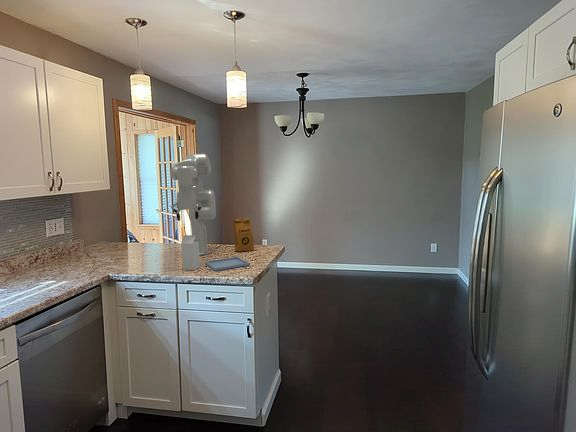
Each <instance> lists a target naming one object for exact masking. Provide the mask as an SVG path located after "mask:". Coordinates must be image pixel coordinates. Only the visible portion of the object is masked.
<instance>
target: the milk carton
mask: <svg viewBox="0 0 576 432" xmlns="http://www.w3.org/2000/svg"><path fill="white" fill-rule="evenodd" d="M180 248H181V249H180V250H181V261H182V270H184V271H197V269H199V268H200V267H201V258H200V255H199V243H198V240H197V239H196V237H195V235H192V234H191V235H189V234H186V235H183V237H182V240H181V243H180Z"/></svg>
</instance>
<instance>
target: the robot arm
mask: <svg viewBox="0 0 576 432" xmlns="http://www.w3.org/2000/svg"><path fill="white" fill-rule="evenodd" d="M211 173H212V165H211V162H210V158H209V156H208V155H207V154H206V153H192V154H191V153H190V154H188V155H186V157H185V158H184V160H181V161H179V162H176V163H174V164H173V165H172V166H171V170H170V176H171V178H172V179H173V180H174V181H177V186H178V191H177V192H176V202H175V203H172V205H170V208H171V210H172V211H173V212H174V213H175V214H176V220H177V222H181V214H180V212H181V211H185V210H188V217H189V222H190V228H191V229H190V230H191V235H195V237H196V239H197V240H198V243H199V256H205V255H209V254H210V253H211V251H210V249H209V248H208V238H207V237H208V236H207V227H206V225H205V223H204V222H203V221H211V220H215V218H217V217H216V216H217V211H216V210H217V209H216V207H217V205H216V195H215V194H216V193H215V192H214V190H213V189H208V188H206V189H204V183H203V181H202V179H201V178H200V177H199V176H209V175H210V174H211ZM205 204H206V205H205ZM175 207H176V208H177V209H176V208H175Z"/></svg>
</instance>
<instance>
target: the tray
mask: <svg viewBox="0 0 576 432" xmlns="http://www.w3.org/2000/svg"><path fill="white" fill-rule="evenodd" d="M204 265H205V266H207V267H208V268H210V269H211V270H212V271H214V272H221V271H227V270H234V269H238V268H240V269H241V268H245V267H250V266H251V263H250V262H249V261H247V260H245V259H243V258H241V257H239V256H232V257H225V258H219V259H214V260H213V259H211V260H206V261H205V260H204Z"/></svg>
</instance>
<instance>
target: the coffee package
mask: <svg viewBox="0 0 576 432" xmlns="http://www.w3.org/2000/svg"><path fill="white" fill-rule="evenodd" d="M233 234H234V235H233V236H234V239H233V240H234V251H236V252H241V253H242V252H249V251H250V252H251V251H254V248H255V245H254V236H253V231H252V225H251V221H250V217H245V218H234V219H233Z"/></svg>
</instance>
